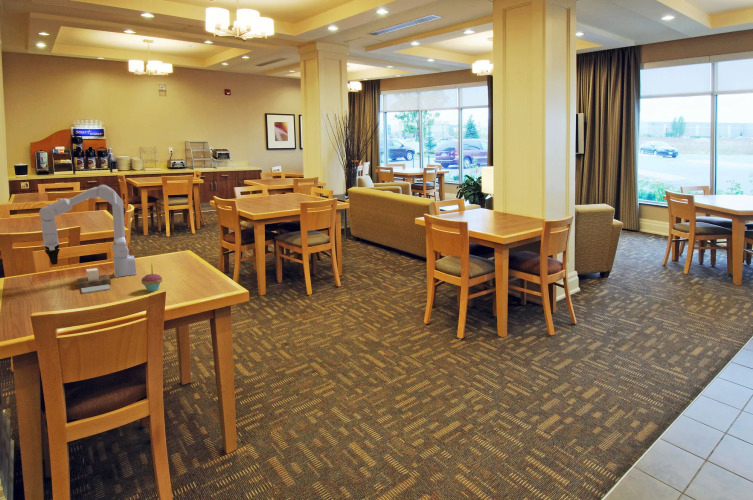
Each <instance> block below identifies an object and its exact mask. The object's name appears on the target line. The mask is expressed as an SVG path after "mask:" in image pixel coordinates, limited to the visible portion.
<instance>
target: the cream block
mask: <svg viewBox="0 0 753 500" xmlns="http://www.w3.org/2000/svg"><path fill="white" fill-rule="evenodd" d="M85 270H86V276H87V277H88V281H93V280H99V276H100V275H99V269H98V267H94V268H86V269H85Z"/></svg>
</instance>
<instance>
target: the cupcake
mask: <svg viewBox="0 0 753 500" xmlns="http://www.w3.org/2000/svg"><path fill="white" fill-rule="evenodd" d="M150 268H151V270H150V274H145V276H143V277H142V278H141V285H144V287H145V289H146V291H147V292H156V291H158V290H160V289H159V288H160V285H161V283H162V282H163V277H162V276H161V275H160V274H158V273H157V274H156V273H154V265H153V263H151V266H150Z"/></svg>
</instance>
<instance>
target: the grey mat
mask: <svg viewBox="0 0 753 500" xmlns="http://www.w3.org/2000/svg"><path fill="white" fill-rule="evenodd" d="M80 290H81V294H90V293H96V292H103V291H110V290H111V287H110V285H109V284H107V285H101V286H94V287H87V288H81V289H80Z"/></svg>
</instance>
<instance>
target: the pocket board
mask: <svg viewBox="0 0 753 500" xmlns="http://www.w3.org/2000/svg"><path fill="white" fill-rule="evenodd" d="M76 284H77V287H78V290H81V288H87V287H94V286H101V285H107V284H109V286H110V285H112V282H111V278H110V275H109V274H102V275H101V274H100V275H99V280H93V281H88V277H80V278H76Z"/></svg>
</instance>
